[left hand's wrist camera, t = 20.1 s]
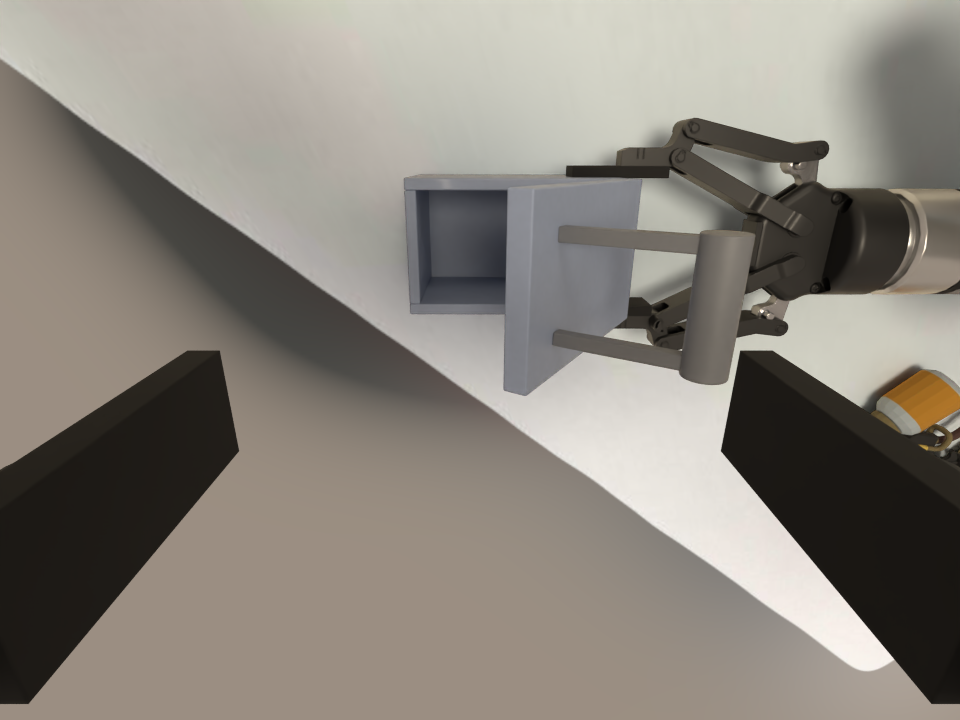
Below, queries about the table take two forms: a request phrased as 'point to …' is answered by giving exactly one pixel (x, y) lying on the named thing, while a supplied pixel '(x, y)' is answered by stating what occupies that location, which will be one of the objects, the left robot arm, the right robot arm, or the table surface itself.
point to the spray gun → (922, 410)
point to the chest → (462, 239)
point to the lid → (608, 283)
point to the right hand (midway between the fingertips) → (565, 242)
